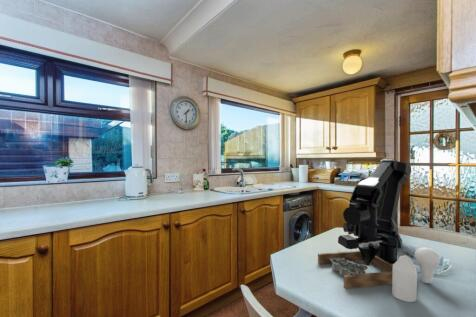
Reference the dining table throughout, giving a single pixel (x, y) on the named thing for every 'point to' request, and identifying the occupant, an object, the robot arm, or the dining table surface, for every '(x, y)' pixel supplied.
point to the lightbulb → (427, 262)
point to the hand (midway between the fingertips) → (367, 265)
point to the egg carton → (347, 266)
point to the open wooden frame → (361, 279)
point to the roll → (404, 279)
